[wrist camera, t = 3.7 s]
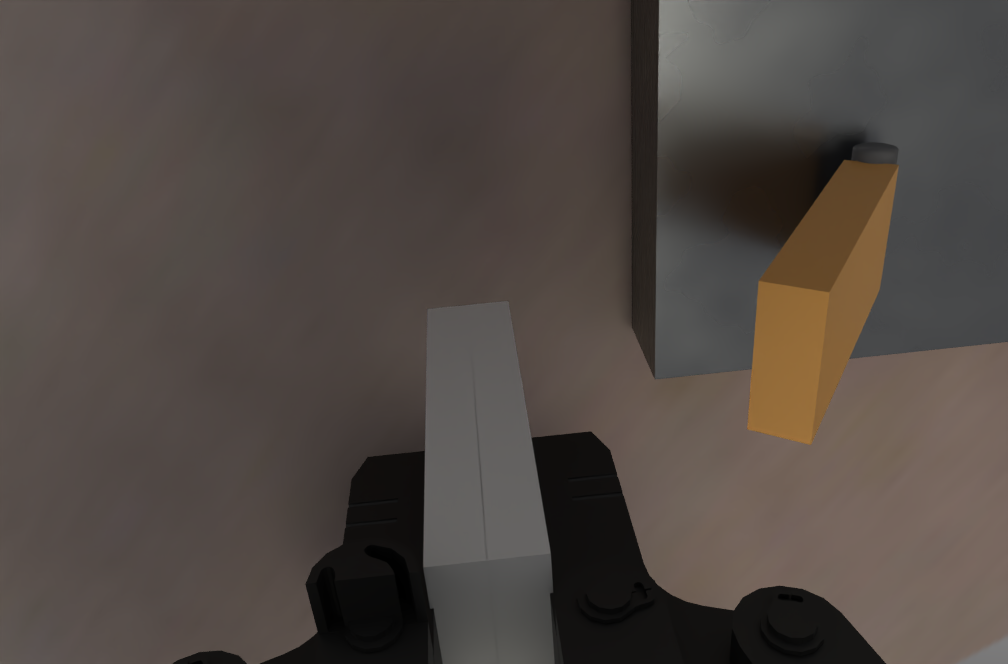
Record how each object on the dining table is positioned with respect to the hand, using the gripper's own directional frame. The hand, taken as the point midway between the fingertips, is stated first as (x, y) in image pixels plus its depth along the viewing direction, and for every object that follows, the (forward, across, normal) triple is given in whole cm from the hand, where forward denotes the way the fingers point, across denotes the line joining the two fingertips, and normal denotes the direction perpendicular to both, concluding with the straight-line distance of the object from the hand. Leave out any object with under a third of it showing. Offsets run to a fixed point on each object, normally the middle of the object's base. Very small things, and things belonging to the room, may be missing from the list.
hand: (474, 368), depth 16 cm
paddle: (+5, +10, 0) cm, 11 cm away
